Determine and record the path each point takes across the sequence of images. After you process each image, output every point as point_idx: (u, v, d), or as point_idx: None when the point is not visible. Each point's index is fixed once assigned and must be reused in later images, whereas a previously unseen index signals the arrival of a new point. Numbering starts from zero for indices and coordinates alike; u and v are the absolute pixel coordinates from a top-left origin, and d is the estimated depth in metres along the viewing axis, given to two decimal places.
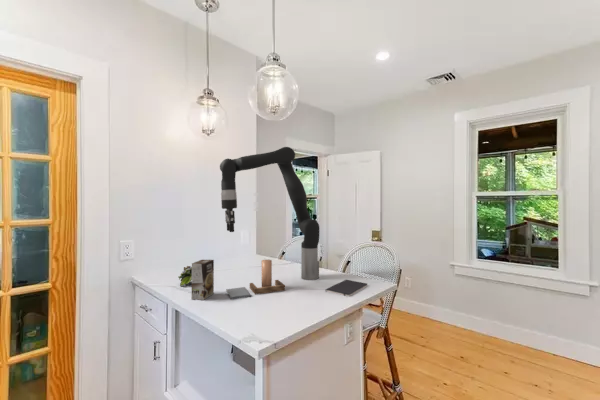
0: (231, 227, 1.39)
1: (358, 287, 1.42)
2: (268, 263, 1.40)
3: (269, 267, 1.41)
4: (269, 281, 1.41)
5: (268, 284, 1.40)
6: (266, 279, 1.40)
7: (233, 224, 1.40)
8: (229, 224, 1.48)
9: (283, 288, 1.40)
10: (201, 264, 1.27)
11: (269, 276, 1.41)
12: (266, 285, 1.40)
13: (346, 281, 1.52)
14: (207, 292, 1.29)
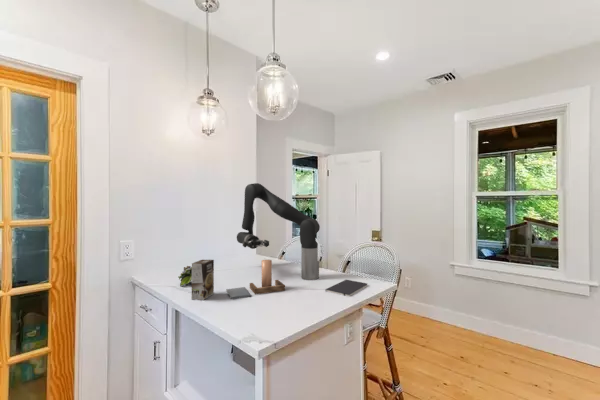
0: (248, 245, 1.54)
1: (358, 287, 1.42)
2: (268, 263, 1.40)
3: (269, 267, 1.41)
4: (269, 281, 1.41)
5: (268, 284, 1.40)
6: (266, 279, 1.40)
7: (249, 243, 1.56)
8: (264, 243, 1.59)
9: (283, 288, 1.40)
10: (201, 264, 1.27)
11: (269, 276, 1.41)
12: (266, 285, 1.40)
13: (346, 281, 1.52)
14: (207, 292, 1.29)
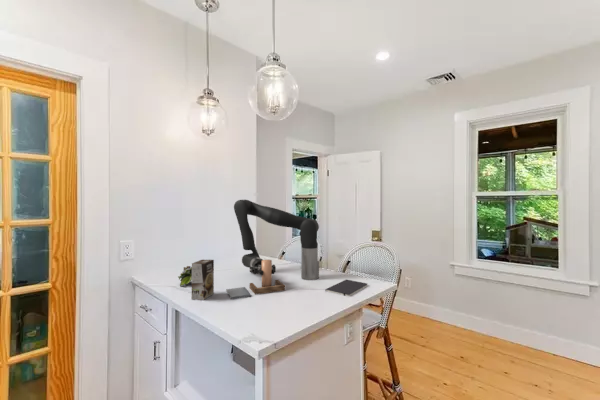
0: (259, 272, 1.41)
1: (358, 287, 1.42)
2: (268, 263, 1.40)
3: (269, 267, 1.41)
4: (269, 281, 1.41)
5: (268, 284, 1.40)
6: (266, 279, 1.40)
7: (259, 269, 1.43)
8: None
9: (283, 288, 1.40)
10: (201, 264, 1.27)
11: (269, 276, 1.41)
12: (266, 285, 1.40)
13: (346, 281, 1.52)
14: (207, 292, 1.29)
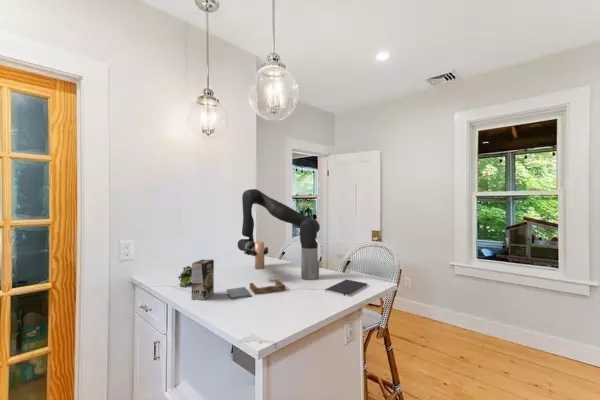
0: (252, 253, 1.53)
1: (358, 287, 1.42)
2: (261, 244, 1.53)
3: (262, 248, 1.53)
4: (262, 261, 1.53)
5: (261, 264, 1.53)
6: (259, 259, 1.52)
7: (253, 250, 1.55)
8: None
9: (283, 288, 1.40)
10: (201, 264, 1.27)
11: (262, 256, 1.53)
12: (259, 264, 1.52)
13: (346, 281, 1.52)
14: (207, 292, 1.29)
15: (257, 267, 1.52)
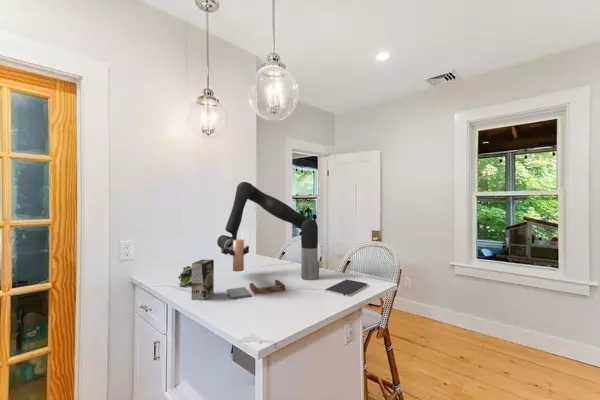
0: (230, 253, 1.33)
1: (358, 287, 1.42)
2: (239, 243, 1.32)
3: (241, 247, 1.32)
4: (241, 262, 1.33)
5: (239, 265, 1.32)
6: (238, 260, 1.32)
7: (231, 250, 1.34)
8: None
9: (283, 288, 1.40)
10: (201, 264, 1.27)
11: (241, 256, 1.33)
12: (237, 266, 1.32)
13: (346, 281, 1.52)
14: (207, 292, 1.29)
15: (235, 269, 1.32)
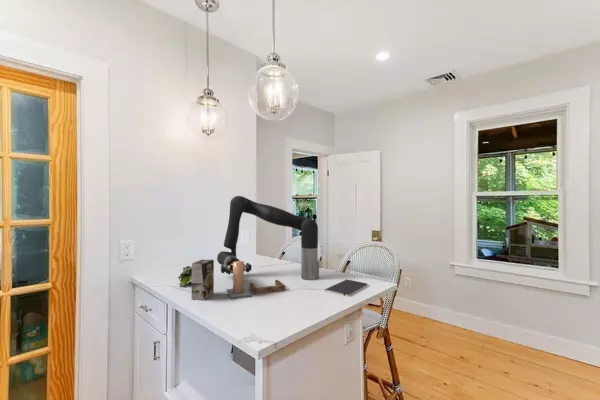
0: (226, 271, 1.33)
1: (358, 287, 1.42)
2: (239, 265, 1.32)
3: (241, 269, 1.33)
4: (241, 284, 1.33)
5: (239, 287, 1.32)
6: (238, 282, 1.32)
7: (227, 268, 1.35)
8: None
9: (283, 288, 1.40)
10: (201, 264, 1.27)
11: (241, 278, 1.33)
12: (237, 288, 1.32)
13: (346, 281, 1.53)
14: (207, 292, 1.29)
15: (235, 291, 1.32)
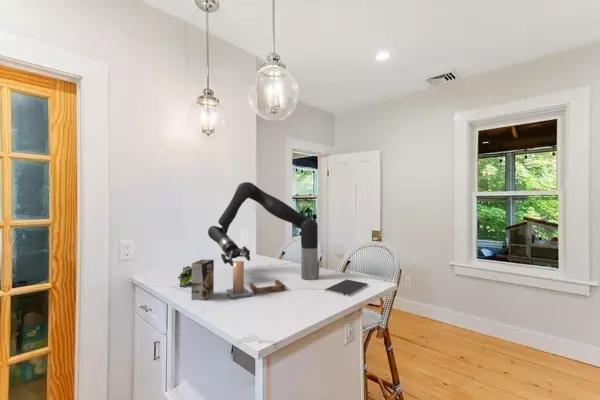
0: (230, 263, 1.46)
1: (358, 287, 1.42)
2: (239, 265, 1.32)
3: (241, 269, 1.33)
4: (241, 284, 1.33)
5: (239, 287, 1.32)
6: (238, 282, 1.32)
7: (230, 260, 1.47)
8: (245, 256, 1.51)
9: (283, 288, 1.40)
10: (201, 264, 1.27)
11: (241, 278, 1.33)
12: (237, 288, 1.32)
13: (346, 281, 1.53)
14: (207, 292, 1.29)
15: (235, 291, 1.32)
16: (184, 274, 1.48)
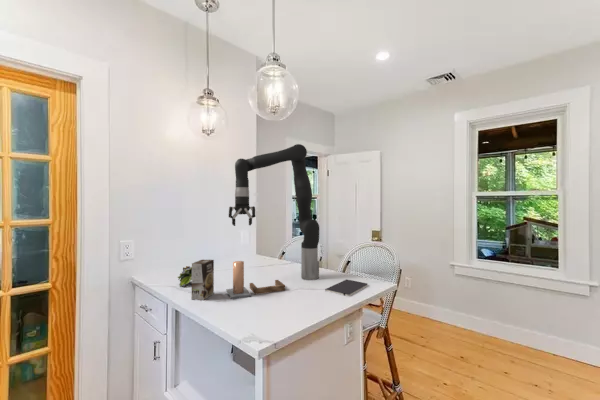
0: (232, 221, 1.55)
1: (358, 287, 1.42)
2: (239, 265, 1.32)
3: (241, 269, 1.33)
4: (241, 284, 1.33)
5: (240, 287, 1.32)
6: (238, 282, 1.32)
7: (234, 219, 1.54)
8: (249, 219, 1.58)
9: (283, 288, 1.40)
10: (201, 264, 1.27)
11: (241, 278, 1.33)
12: (237, 288, 1.32)
13: (346, 281, 1.53)
14: (207, 292, 1.29)
15: (235, 291, 1.32)
16: (184, 274, 1.48)
